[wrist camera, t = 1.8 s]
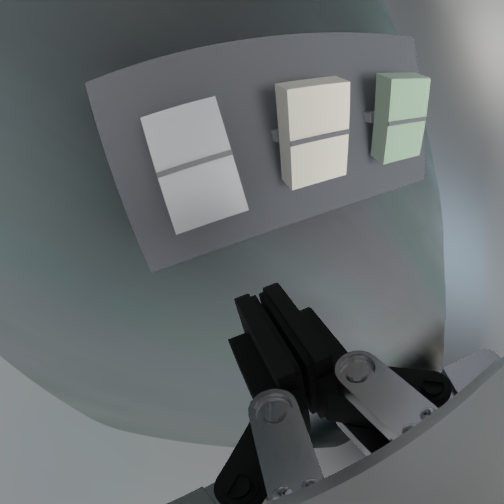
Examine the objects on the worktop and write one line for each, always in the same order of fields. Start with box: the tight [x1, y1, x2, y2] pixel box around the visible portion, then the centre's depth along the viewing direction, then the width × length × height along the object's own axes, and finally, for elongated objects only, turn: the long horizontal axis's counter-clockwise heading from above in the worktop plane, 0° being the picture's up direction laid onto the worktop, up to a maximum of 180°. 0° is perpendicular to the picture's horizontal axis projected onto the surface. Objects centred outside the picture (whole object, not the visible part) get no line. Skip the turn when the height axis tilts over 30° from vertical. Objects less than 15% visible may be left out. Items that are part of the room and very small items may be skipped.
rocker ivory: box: [275, 76, 350, 191], centre depth 19 cm, size 7×4×2 cm, turn 13°
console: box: [85, 32, 425, 273], centre depth 23 cm, size 14×26×7 cm, turn 103°
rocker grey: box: [140, 96, 249, 235], centre depth 17 cm, size 7×4×2 cm, turn 13°
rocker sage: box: [371, 73, 431, 165], centre depth 20 cm, size 7×4×2 cm, turn 13°
